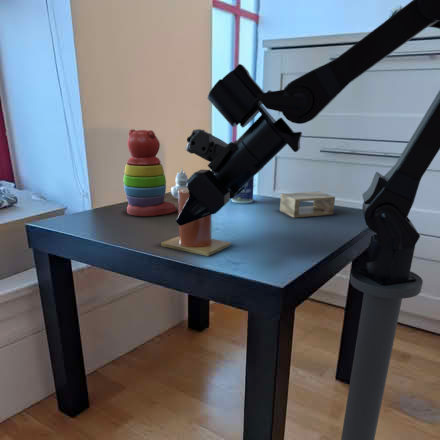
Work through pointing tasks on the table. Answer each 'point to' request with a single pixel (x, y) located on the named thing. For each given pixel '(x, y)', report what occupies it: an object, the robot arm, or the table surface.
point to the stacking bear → (145, 176)
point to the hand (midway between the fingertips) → (187, 216)
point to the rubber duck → (179, 183)
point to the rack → (320, 206)
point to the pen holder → (193, 226)
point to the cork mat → (204, 250)
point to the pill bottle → (245, 194)
